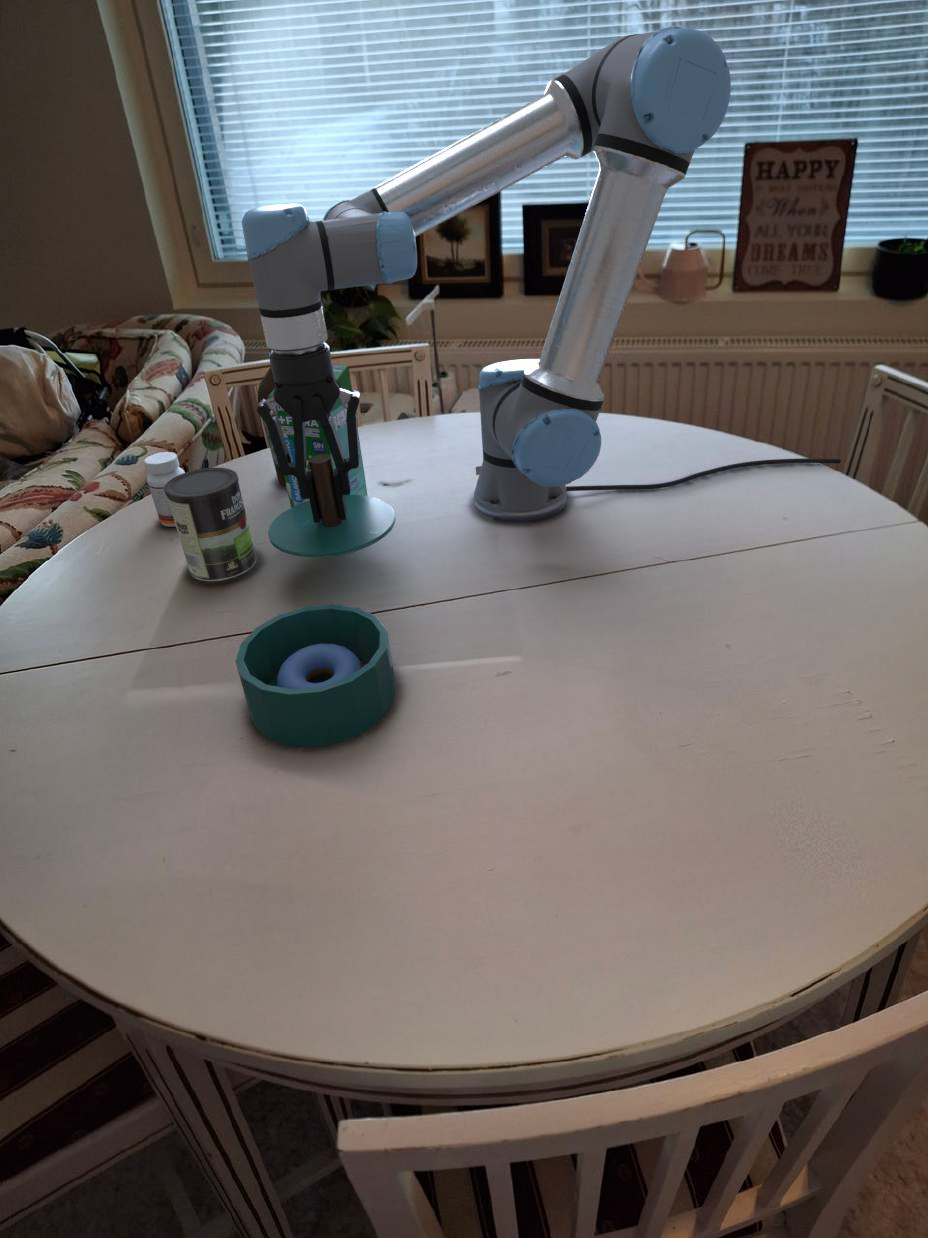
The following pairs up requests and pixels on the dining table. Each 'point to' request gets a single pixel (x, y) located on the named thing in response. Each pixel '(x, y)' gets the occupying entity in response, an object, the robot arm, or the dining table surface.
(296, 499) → the milk carton
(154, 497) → the pill bottle
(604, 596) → the dining table surface
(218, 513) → the coffee can
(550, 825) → the dining table surface
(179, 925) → the dining table surface
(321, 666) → the doughnut
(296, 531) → the lid
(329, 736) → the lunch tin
